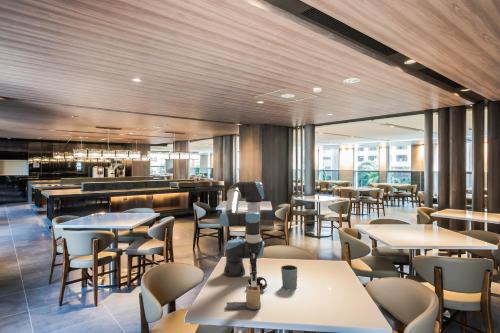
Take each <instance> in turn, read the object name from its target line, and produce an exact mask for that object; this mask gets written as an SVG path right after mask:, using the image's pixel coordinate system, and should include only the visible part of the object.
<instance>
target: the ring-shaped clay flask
mask: <svg viewBox="0 0 500 333" xmlns="http://www.w3.org/2000/svg"><path fill="white" fill-rule="evenodd" d="M261 281H264V284H263V283H262V282H261ZM247 282H248V285H249V286H251V278H248V280H247ZM257 286H259V287H260V292H261V291H264V290H265V289H266V288H267V287H268V283H267V279H266V278H264V277H262V276H258V277H257Z"/></svg>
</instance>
